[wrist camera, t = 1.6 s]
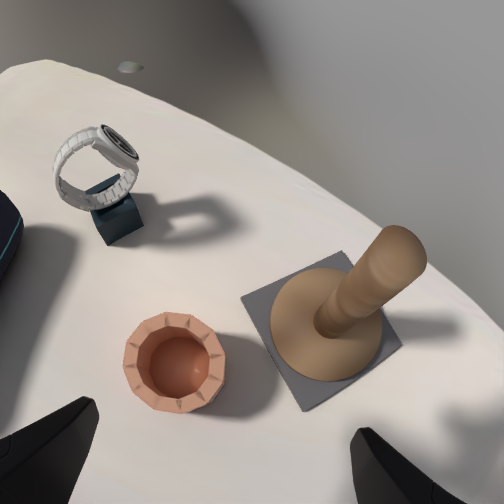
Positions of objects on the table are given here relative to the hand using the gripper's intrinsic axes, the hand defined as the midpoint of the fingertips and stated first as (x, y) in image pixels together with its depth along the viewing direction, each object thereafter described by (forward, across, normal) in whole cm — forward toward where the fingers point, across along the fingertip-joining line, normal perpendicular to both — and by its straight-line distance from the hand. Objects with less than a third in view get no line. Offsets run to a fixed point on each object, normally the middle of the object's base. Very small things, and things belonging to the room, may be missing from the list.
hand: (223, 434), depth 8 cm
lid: (+15, -8, +4) cm, 17 cm away
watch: (+22, +14, -2) cm, 26 cm away
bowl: (+12, +4, +7) cm, 15 cm away
